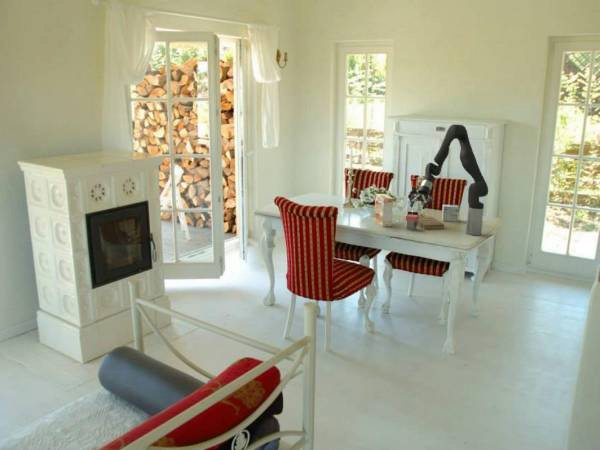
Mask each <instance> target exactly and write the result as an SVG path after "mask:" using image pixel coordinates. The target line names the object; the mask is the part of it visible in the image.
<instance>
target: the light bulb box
mask: <svg viewBox="0 0 600 450" xmlns="http://www.w3.org/2000/svg"><path fill="white" fill-rule="evenodd" d="M459 209H460V207H459V205H457V204H442V210H441V221H442V222H454V223H455V222H456V223H457V222H459Z"/></svg>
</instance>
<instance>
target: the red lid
mask: <svg viewBox="0 0 600 450" xmlns="http://www.w3.org/2000/svg"><path fill="white" fill-rule="evenodd" d="M419 217H420V215H418V214H411V213H410V214H409V213H408V214H407V215H405V221H406V222H407V221H413V222H415V221H418V220H419Z"/></svg>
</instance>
